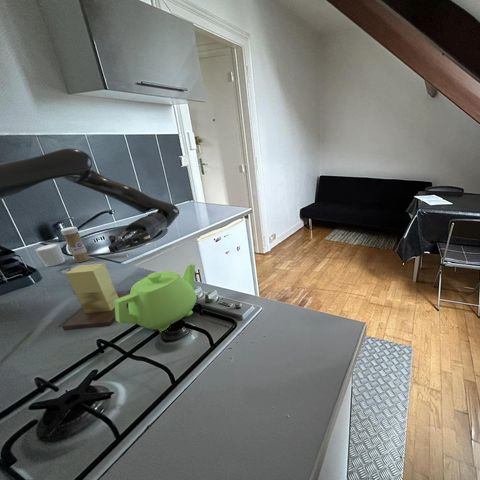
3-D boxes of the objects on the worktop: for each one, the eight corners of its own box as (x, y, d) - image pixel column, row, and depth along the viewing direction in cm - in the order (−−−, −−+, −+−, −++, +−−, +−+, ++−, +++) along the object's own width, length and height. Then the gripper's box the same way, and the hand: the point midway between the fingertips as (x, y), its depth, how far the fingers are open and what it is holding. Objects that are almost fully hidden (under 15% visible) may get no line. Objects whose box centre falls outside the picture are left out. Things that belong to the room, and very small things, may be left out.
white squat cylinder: (57, 259, 105) (49, 243, 102) (71, 259, 104) (64, 243, 101) (38, 267, 99) (29, 250, 96) (53, 267, 98) (44, 250, 95)
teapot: (187, 290, 77) (176, 252, 73) (218, 302, 71) (208, 261, 66) (112, 334, 61) (91, 288, 57) (143, 353, 55) (123, 304, 50)
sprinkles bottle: (83, 262, 100) (68, 230, 95) (72, 263, 101) (56, 230, 95) (93, 257, 104) (79, 225, 99) (82, 257, 105) (68, 226, 100)
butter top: (75, 294, 65) (65, 273, 63) (87, 285, 69) (78, 265, 67) (102, 291, 66) (92, 270, 63) (112, 283, 69) (104, 263, 67)
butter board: (63, 330, 64) (50, 305, 61) (100, 298, 76) (91, 277, 73) (110, 325, 65) (98, 301, 62) (139, 295, 77) (131, 274, 74)
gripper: (121, 220, 90) (82, 239, 74) (160, 217, 90) (131, 235, 74) (128, 240, 92) (93, 262, 77) (166, 237, 93) (139, 258, 77)
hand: (112, 249), depth 75 cm, fingers closed
